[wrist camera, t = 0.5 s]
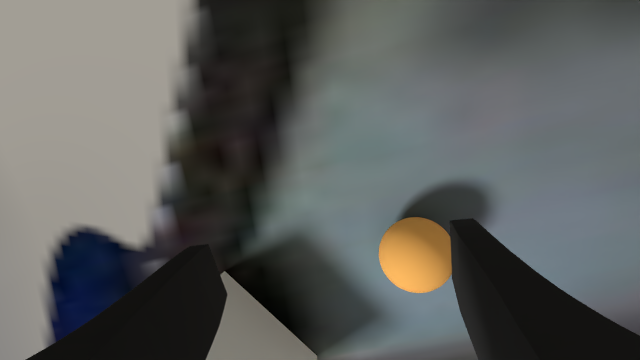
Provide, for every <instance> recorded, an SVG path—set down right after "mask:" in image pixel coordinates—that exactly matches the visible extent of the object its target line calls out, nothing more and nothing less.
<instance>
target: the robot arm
mask: <svg viewBox="0 0 640 360" xmlns="http://www.w3.org/2000/svg"><path fill="white" fill-rule="evenodd" d="M450 240H451V264H452V280H453V284H454V288H455V292H456V296H457V300H458V304H459V308H460V312H461V314H462V317H463V320H464V323H465V325H466V328H467V331H468V333H469V336H470V339H471V341H472V344H473V346H474V349H475V352H476V354H477V357H478V360H640V336H639V335H637V334H635V333H633V332H631V331H629V330H628V329H626V328H624V327H622V326H620V325H618V324H617V323H615V322H613V321H611V320H610V319H608V318H606V317H604V316H603V315H601V314H599V313H598V312H596V311H594V310H593V309H591V308H589V307H588V306H586V305H585V304H583V303H581V302H580V301H578V300H576V299H575V298H573V297H572V296H570V295H569V294H567V293H566V292H564V291H563V290H561V289H560V288H558V287H557V286H555V285H554V284H552V283H551V282H550V281H548V280H547V279H545V278H544V277H543V276H541V275H540V274H539V273H537V272H536V271H535V270H533V269H532V268H531V267H530V266H528V265H527V264H526V263H525V262H523V261H522V260H521V259H520V258H518V257H517V256H516V255H515V254H513V253H512V252H511V251H510V250H509V249H507V248H506V247H505V246H504V245H503V244H502V243H500V242H499V241H498V240H497V239H496V238H495V237H494V236H492V235H491V234H490V233H489V232H488V231H487V230H486V229H485V228H483V227H482V226H481V225H480V224H479V223H478V222H477V221H476V220H474V219H473V218H472V219H462V220H452V221H450ZM227 295H228V294H227V291H226V289H225V286H224V284H223V281H222V278H221V276H220V273H219V271H218V268H217V266H216V263H215V260H214V258H213V255H212V253H211V250H210V248H209V245H208V244H207V245H197V246H190V247H188V248H187V249H185V250H184V251H182V252H181V253H179V254H178V255H177V256H175V257H174V258H173V259H171V260H170V261H169V262H167V263H166V264H165V265H163V266H162V267H161V268H160V269H158V270H157V271H156V272H155V273H153V274H152V275H151V276H149V277H148V278H147V279H146V280H144V281H143V282H142V283H140V284H139V285H138V286H137V287H135V288H134V289H133V290H131V291H130V292H129V293H127V294H126V295H125V296H123V297H122V298H121V299H119V300H118V301H116V302H115V303H114V304H112V305H111V306H110V307H108V308H107V309H106V310H104V311H103V312H101V313H100V314H99V315H97V316H96V317H94V318H93V319H91V320H90V321H88V322H87V323H85V324H84V325H82V326H81V327H80V328H78V329H76V330H75V331H73V332H72V333H70V334H68V335H67V336H65V337H64V338H62V339H61V340H59V341H57V342H56V343H54V344H52V345H51V346H49V347H47V348H45V349H44V350H42V351H40V352H38V353H37V354H35V355H33V356H32V357H30V358H28V359H26V360H206V358H207V355H208V353H209V351H210V348H211V346H212V343H213V341H214V338H215V336H216V333H217V331H218V328H219V326H220V322H221V319H222V315H223V311H224V307H225V303H226V299H227Z"/></svg>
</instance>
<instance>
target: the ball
mask: <svg viewBox="0 0 640 360" xmlns="http://www.w3.org/2000/svg"><path fill="white" fill-rule="evenodd" d="M379 259H380V264H381V267H382V269H383V271H384V273H385V274H386V276H387V277H388V278H389V280H390V281H391V282H392V283H394V284H395V285H396V286H398V287H399V288H401V289H403V290H406V291H409V292H414V293H424V292H429V291H432V290H435V289H437V288H439V287H440V286H441V285H443V284H444V283H445V282H446V281H447V280H448V279H449V277H450V276H451V274H452V264H451V240H450V236H449V234H448V233H447V232H446V231H445V230H444V229H443V228H442V227H441V226H440V225H439V224H437V223H435V222H433V221H431V220H429V219H426V218H420V217H410V218H405V219H402V220H400V221H398V222H396V223H395V224H393V225H392V226H391V227H390V228H389V229H388V230H387V231H386V233H385V234H384V236H383V238H382V240H381V243H380V247H379Z"/></svg>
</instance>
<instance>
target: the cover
mask: <svg viewBox="0 0 640 360" xmlns="http://www.w3.org/2000/svg"><path fill="white" fill-rule="evenodd" d="M220 276H221V278H222V281H223V284H224V286H225V289H226V291H227V294H228V295H227V299H226V303H225V307H224V311H223V315H222V319H221V322H220V326H219V328H218V331H217V333H216V336H215V338H214V341H213V343H212V346H211V348H210V351H209V353H208V355H207V358H206V360H317V355H316V354H315V353H313V352H312V351H311V350H310V349H309V348H308V347H307V346H306V345H305V344H304V343H303V342H301V341H300V340H299V339H298V338H297V337H296V336H295V335H294V334H293V333H292V332H291V331H289V330H288V329H287V328H286V327H285V326H284V325H283V324H282V323H281V322H280V321H279V320H277V319H276V318H275V317H274V316H273V315H272V314H271V313H270V312H269V311H268V310H267V309H266V308H264V307H263V306H262V305H261V304H260V303H259V302H258V301H257V300H256V299H255V298H254V297H252V296H251V295H250V294H249V293H248V292H247V291H246V290H245V289H244V288H243V287H242V286H240V285H239V284H238V283H237V282H236V281H235V280H234V279H233V278H232V277H231V276H230V275H228V274H227V273H226V272H225V271H224V272H223V273H222V274H221V275H220Z"/></svg>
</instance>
